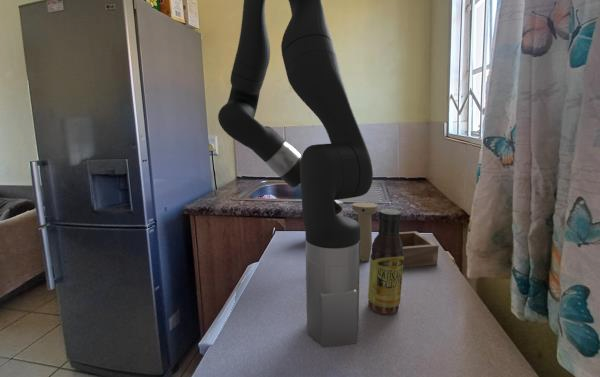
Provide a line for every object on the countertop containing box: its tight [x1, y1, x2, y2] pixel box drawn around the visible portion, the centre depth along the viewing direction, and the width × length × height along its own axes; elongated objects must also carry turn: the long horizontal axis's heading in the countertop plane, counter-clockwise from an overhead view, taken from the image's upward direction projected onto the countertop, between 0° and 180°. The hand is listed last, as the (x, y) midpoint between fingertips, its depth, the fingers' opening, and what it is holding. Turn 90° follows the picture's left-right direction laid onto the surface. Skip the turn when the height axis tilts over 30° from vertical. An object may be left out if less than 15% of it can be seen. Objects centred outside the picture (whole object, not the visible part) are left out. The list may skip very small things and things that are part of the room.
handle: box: [351, 201, 379, 262], centre depth 90 cm, size 5×6×15 cm
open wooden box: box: [399, 230, 439, 268], centre depth 92 cm, size 11×11×5 cm
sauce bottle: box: [367, 208, 404, 315], centre depth 67 cm, size 6×6×20 cm
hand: (334, 207), depth 87 cm, fingers open, 8 cm apart
